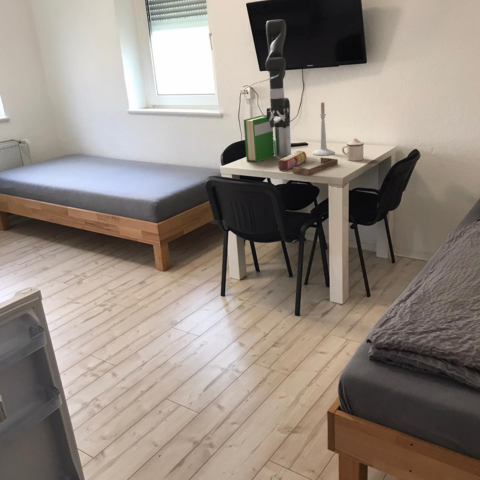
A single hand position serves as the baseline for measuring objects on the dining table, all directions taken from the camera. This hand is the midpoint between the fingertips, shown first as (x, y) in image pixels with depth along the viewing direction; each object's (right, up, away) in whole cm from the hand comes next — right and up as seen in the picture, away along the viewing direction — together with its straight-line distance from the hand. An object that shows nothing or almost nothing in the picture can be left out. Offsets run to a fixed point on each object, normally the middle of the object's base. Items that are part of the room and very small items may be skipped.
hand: (278, 127), depth 281 cm
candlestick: (+29, -10, +26) cm, 40 cm away
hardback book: (-9, -13, +26) cm, 30 cm away
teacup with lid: (+41, -17, +6) cm, 45 cm away
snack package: (+8, -21, +1) cm, 23 cm away
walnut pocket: (+19, -23, -9) cm, 31 cm away
